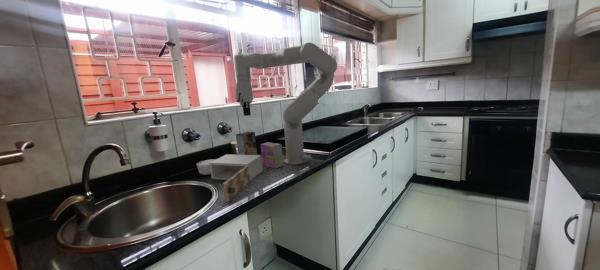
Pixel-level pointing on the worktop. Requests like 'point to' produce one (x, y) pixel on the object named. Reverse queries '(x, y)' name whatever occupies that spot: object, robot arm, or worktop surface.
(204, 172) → the ramekin
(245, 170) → the door
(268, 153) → the box
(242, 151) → the coffee box
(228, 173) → the box
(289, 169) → the worktop surface
